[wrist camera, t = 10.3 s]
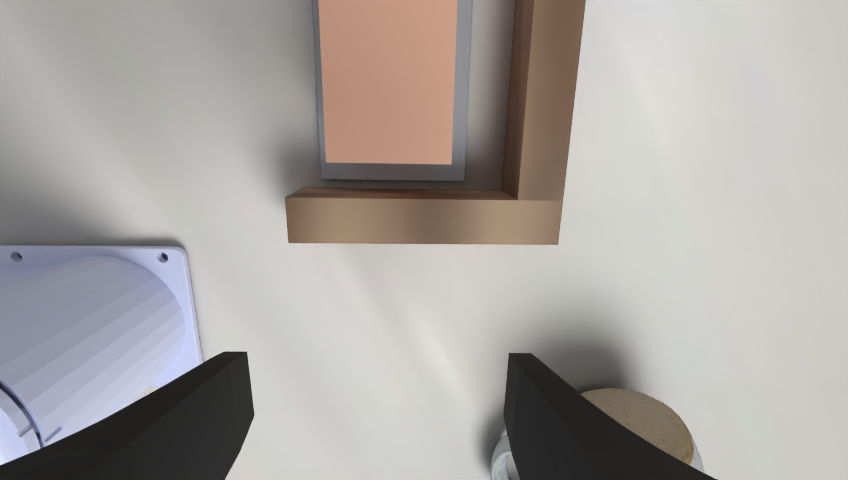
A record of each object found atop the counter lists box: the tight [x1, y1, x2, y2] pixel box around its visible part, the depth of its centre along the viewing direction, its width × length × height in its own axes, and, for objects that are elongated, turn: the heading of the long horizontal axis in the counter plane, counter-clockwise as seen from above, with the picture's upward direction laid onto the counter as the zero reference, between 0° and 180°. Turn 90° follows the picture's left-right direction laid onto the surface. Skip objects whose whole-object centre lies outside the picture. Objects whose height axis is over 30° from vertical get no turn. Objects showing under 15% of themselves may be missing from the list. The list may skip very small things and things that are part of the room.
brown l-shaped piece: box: [285, 0, 586, 245], centre depth 17 cm, size 12×16×3 cm
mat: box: [312, 0, 473, 181], centre depth 18 cm, size 7×10×1 cm
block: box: [318, 0, 457, 164], centre depth 16 cm, size 8×4×5 cm, turn 179°
